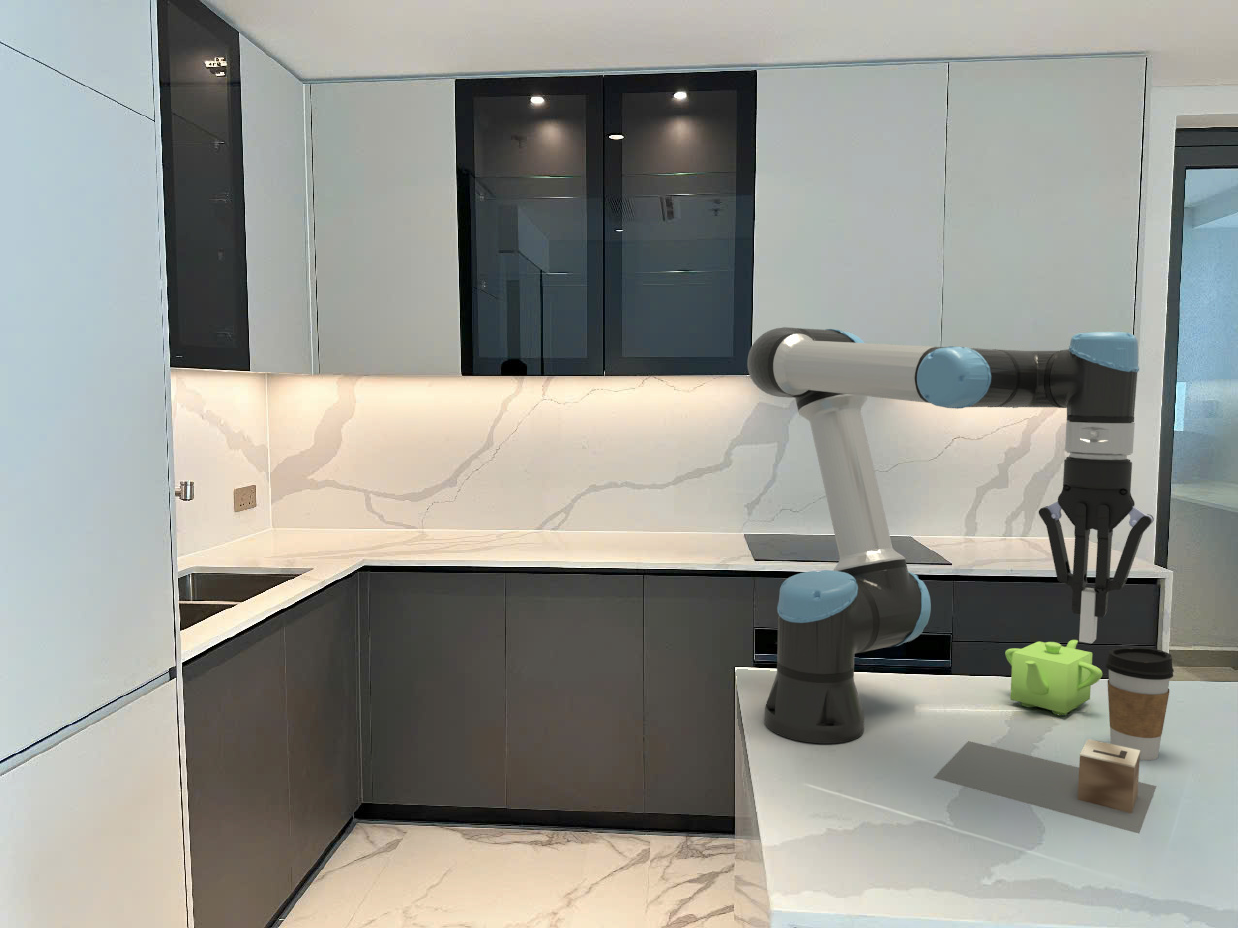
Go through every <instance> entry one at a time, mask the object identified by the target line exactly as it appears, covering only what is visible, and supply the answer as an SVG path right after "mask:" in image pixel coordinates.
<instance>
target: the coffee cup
mask: <svg viewBox="0 0 1238 928" xmlns="http://www.w3.org/2000/svg"><path fill="white" fill-rule="evenodd" d="M1173 667H1174V666H1173V658H1172V654H1171V653H1169V652H1166V651H1163V650H1160V649H1156V648H1152V647H1151V648H1150V647H1117V648H1116V647H1115V648H1112V649H1109V651H1108V653H1107V659H1106V660H1105V668H1106V669H1107V670H1108V679H1107V680H1106V681H1107V682H1106V683H1107V699H1108V716H1109V717H1108V718H1109V719H1108V720H1109V734H1110V739H1109V740H1110V743H1109V744H1113V745H1118V746H1122V747H1127V748H1132V749H1136V750H1140V761H1154V760H1156V759H1158V758H1159V755H1160V754H1159V753H1160V752H1159V751H1160V747H1161V746H1160V745H1161V739H1162V734H1163V731H1164V724H1165V718H1166V713H1167V707H1168V702H1169V697H1170V689H1169V687H1170V679H1173V677H1174V672H1175V670H1174V668H1173Z"/></svg>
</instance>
